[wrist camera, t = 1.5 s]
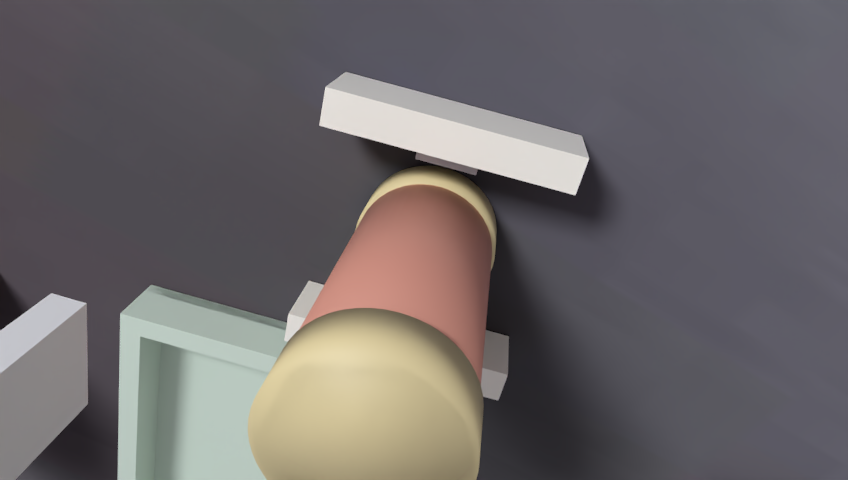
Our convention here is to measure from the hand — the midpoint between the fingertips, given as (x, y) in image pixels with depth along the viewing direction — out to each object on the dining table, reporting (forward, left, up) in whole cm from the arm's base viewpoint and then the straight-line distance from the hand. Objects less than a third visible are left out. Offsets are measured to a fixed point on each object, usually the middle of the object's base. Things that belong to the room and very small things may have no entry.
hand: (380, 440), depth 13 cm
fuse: (0, 0, -11) cm, 11 cm away
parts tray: (-5, -13, -11) cm, 17 cm away
